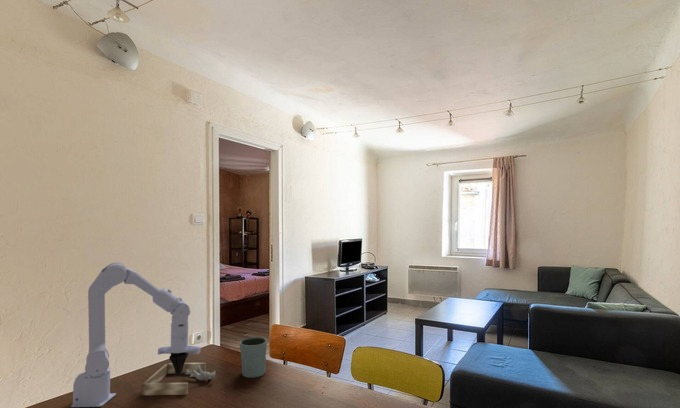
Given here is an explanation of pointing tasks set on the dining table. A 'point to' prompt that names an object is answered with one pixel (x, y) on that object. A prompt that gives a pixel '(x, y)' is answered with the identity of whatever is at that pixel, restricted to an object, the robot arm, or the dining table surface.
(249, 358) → the green cup
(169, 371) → the beech frame
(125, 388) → the dining table surface
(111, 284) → the robot arm
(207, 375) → the soldier figure
